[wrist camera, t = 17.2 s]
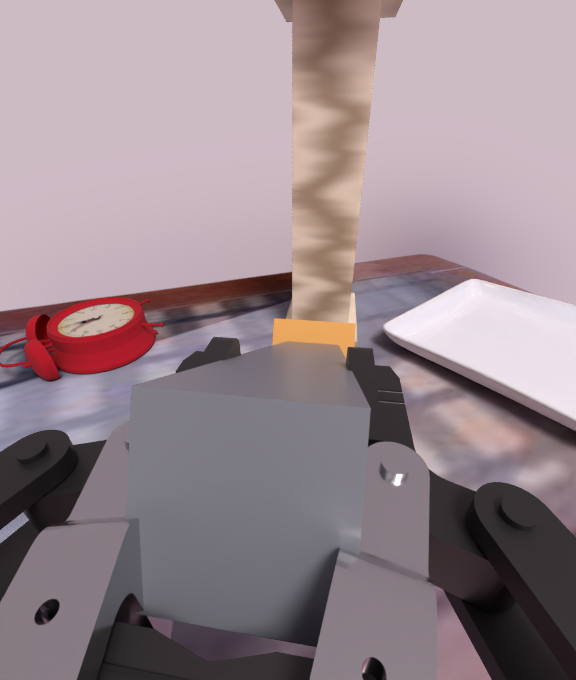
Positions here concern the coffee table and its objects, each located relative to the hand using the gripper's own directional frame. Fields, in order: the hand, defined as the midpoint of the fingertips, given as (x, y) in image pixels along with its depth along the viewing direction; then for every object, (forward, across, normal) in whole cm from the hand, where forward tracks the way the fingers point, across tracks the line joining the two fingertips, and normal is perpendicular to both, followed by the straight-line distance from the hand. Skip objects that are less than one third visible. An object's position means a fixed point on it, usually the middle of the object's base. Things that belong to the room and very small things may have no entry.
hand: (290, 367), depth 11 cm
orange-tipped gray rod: (+4, 0, +6) cm, 7 cm away
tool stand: (+27, 0, +14) cm, 31 cm away
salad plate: (+24, -21, +15) cm, 35 cm away
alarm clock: (+19, +25, +15) cm, 34 cm away
